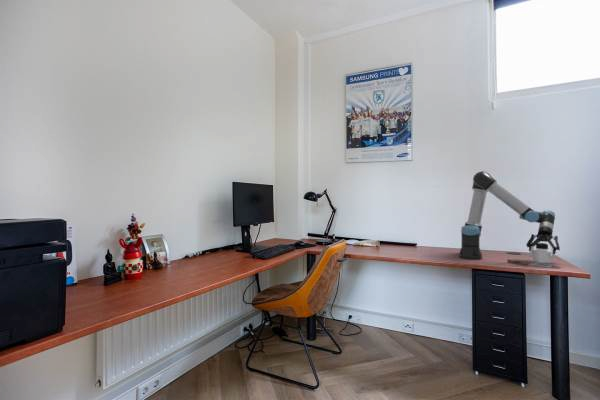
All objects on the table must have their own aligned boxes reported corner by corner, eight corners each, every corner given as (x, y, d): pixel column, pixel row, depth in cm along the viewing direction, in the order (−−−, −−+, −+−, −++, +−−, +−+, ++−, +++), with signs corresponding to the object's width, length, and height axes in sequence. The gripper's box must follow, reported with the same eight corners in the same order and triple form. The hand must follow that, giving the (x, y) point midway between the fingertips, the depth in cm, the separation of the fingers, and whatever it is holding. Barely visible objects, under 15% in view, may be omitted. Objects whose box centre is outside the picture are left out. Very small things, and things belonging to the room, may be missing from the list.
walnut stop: (507, 262, 204) (507, 259, 203) (507, 262, 204) (507, 259, 204) (527, 265, 195) (527, 262, 195) (527, 265, 196) (527, 261, 196)
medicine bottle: (551, 263, 190) (551, 244, 190) (539, 262, 192) (538, 244, 192) (544, 260, 197) (544, 242, 197) (532, 260, 199) (532, 242, 199)
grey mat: (530, 265, 195) (530, 264, 195) (534, 263, 201) (533, 262, 201) (550, 267, 187) (550, 267, 187) (553, 265, 194) (553, 264, 194)
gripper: (568, 234, 196) (564, 262, 186) (526, 232, 213) (521, 257, 202) (566, 227, 193) (563, 255, 182) (524, 225, 209) (518, 250, 199)
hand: (540, 256), depth 192 cm, fingers closed on medicine bottle, 10 cm apart
